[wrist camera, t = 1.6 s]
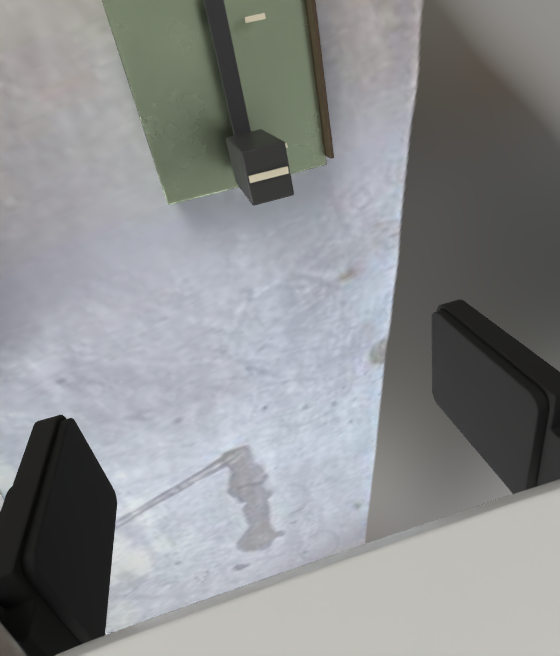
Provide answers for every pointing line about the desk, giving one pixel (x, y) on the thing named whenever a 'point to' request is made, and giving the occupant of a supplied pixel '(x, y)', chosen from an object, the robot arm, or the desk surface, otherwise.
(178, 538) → the desk surface
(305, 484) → the desk surface
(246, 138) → the slider
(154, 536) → the desk surface
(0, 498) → the mug
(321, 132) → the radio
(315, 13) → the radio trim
